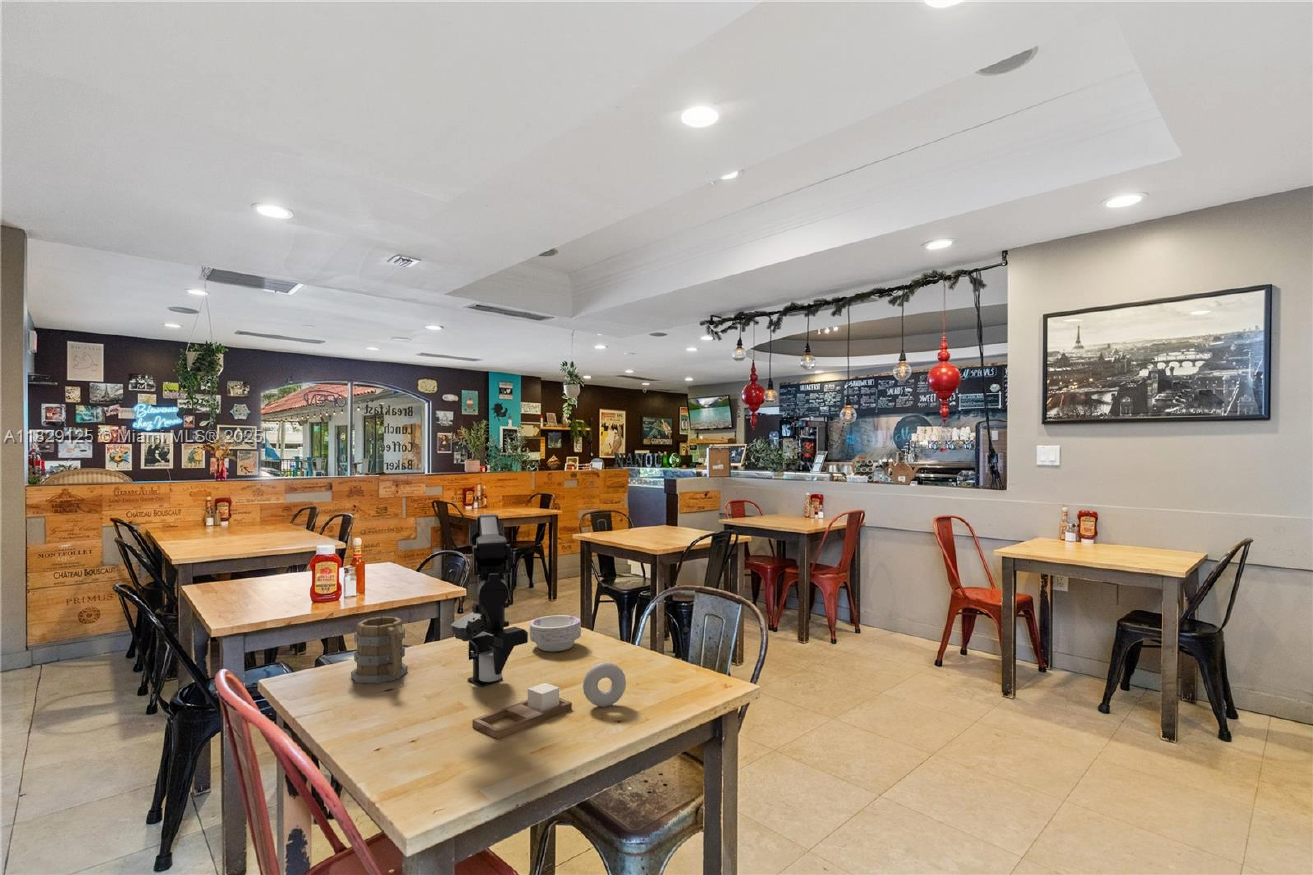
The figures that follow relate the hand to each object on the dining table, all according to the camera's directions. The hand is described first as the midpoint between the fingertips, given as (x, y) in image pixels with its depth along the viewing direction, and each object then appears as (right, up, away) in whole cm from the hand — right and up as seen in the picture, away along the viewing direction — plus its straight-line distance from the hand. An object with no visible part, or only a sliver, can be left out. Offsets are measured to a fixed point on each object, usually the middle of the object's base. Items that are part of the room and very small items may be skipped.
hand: (491, 671), depth 139 cm
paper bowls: (+5, -13, +54) cm, 56 cm away
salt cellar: (0, -1, 0) cm, 1 cm away
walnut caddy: (+6, -11, +4) cm, 13 cm away
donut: (+23, -12, +10) cm, 28 cm away
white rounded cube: (+10, -12, +8) cm, 17 cm away
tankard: (-35, -12, +28) cm, 46 cm away
